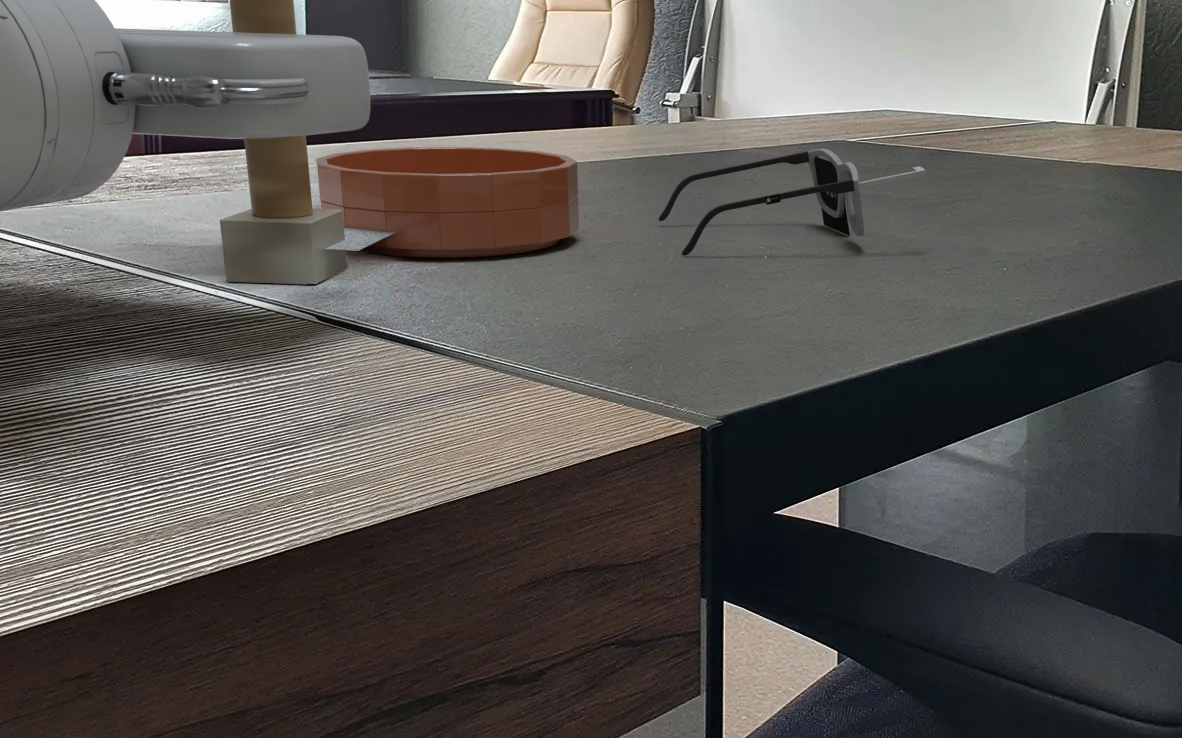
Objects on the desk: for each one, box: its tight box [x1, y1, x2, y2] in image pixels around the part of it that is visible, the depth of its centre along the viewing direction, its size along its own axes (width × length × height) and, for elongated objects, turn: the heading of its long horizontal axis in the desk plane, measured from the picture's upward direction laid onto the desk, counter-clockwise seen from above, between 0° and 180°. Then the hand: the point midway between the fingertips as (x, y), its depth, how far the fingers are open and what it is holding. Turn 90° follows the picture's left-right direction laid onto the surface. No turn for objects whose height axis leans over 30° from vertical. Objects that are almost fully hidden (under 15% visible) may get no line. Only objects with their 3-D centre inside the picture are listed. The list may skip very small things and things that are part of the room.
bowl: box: [314, 146, 580, 259], centre depth 79 cm, size 14×14×4 cm
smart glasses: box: [658, 148, 927, 256], centre depth 83 cm, size 12×14×5 cm
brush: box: [219, 0, 348, 285], centre depth 66 cm, size 4×4×15 cm
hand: (235, 70), depth 64 cm, fingers open, 8 cm apart
